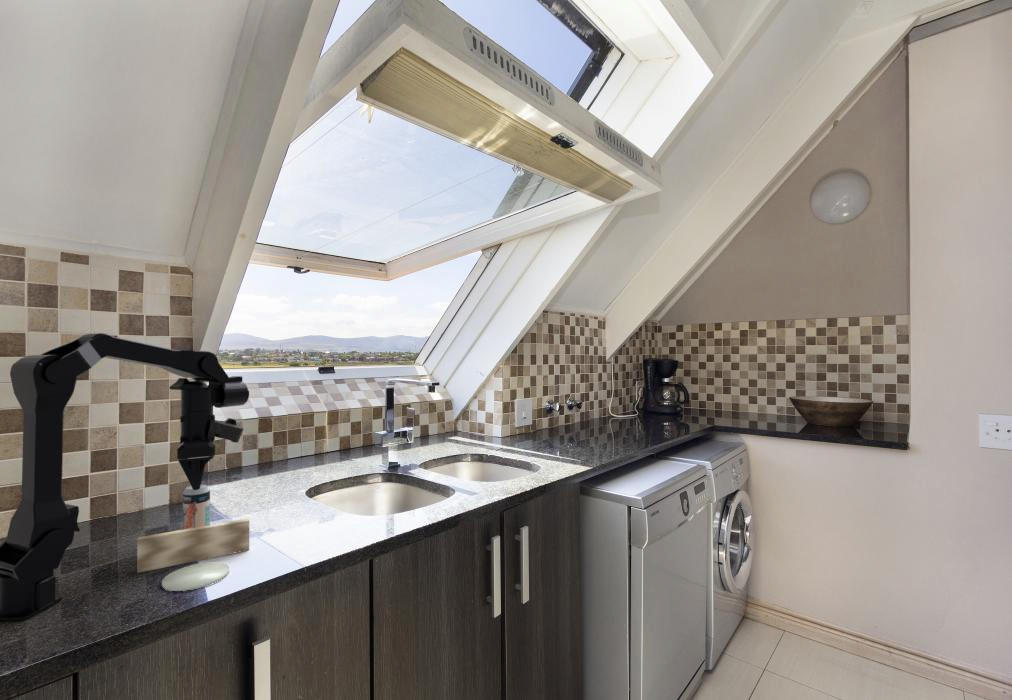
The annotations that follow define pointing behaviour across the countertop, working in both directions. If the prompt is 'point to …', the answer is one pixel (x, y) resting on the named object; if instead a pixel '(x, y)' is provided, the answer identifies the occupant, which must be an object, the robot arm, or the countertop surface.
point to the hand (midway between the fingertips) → (196, 484)
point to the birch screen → (191, 544)
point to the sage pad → (195, 576)
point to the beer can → (196, 507)
